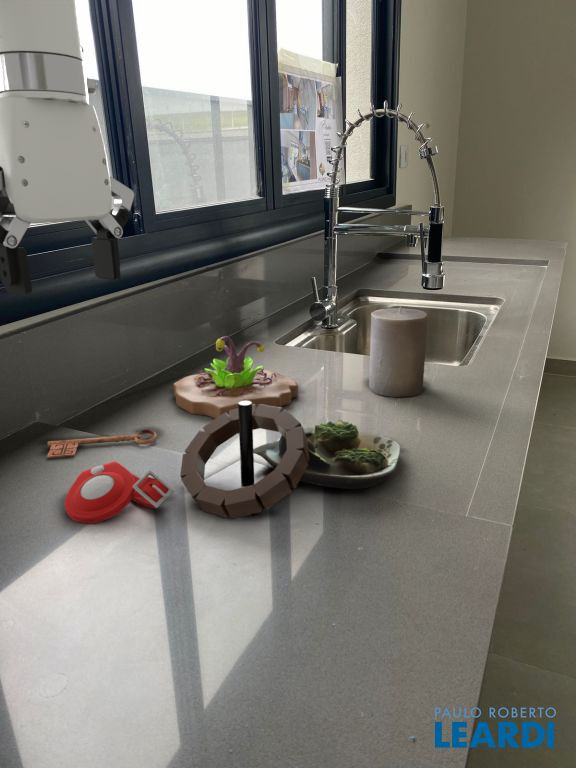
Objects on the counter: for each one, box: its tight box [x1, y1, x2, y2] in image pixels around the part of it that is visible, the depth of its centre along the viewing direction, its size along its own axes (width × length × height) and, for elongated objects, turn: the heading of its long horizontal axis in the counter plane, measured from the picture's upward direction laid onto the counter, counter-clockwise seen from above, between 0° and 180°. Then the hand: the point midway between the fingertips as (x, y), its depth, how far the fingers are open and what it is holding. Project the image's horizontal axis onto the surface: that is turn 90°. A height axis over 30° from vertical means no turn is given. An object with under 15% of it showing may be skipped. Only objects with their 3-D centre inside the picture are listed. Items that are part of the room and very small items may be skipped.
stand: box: [204, 401, 300, 517], centre depth 71 cm, size 9×9×11 cm
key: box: [46, 429, 157, 459], centre depth 85 cm, size 6×1×15 cm
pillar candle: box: [368, 305, 428, 398], centre depth 106 cm, size 10×10×15 cm
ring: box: [179, 404, 309, 519], centre depth 71 cm, size 15×15×2 cm
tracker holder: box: [64, 461, 175, 524], centre depth 70 cm, size 12×4×10 cm
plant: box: [173, 336, 299, 420], centre depth 103 cm, size 20×20×11 cm
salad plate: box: [253, 419, 401, 490], centre depth 80 cm, size 19×18×5 cm
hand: (66, 285), depth 57 cm, fingers open, 9 cm apart
